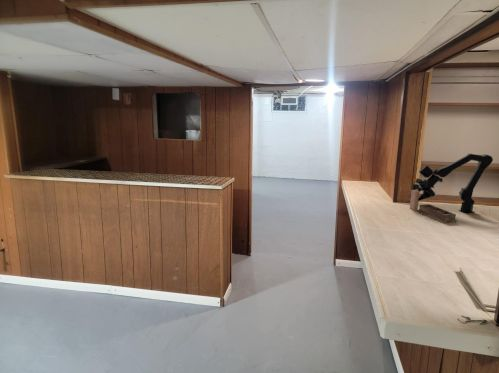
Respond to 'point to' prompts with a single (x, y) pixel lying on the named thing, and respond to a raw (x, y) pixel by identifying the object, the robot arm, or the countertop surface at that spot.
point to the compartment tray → (437, 213)
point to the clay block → (414, 199)
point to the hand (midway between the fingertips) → (413, 198)
